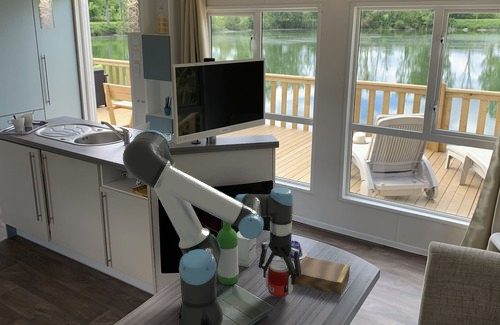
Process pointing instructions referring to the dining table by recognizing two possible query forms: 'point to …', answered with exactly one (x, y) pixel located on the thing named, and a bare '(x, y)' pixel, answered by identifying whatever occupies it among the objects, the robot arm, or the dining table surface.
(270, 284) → the canned food
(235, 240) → the wine bottle
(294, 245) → the pudding
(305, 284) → the wooden block
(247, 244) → the supplement box
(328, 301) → the dining table surface
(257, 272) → the dining table surface
